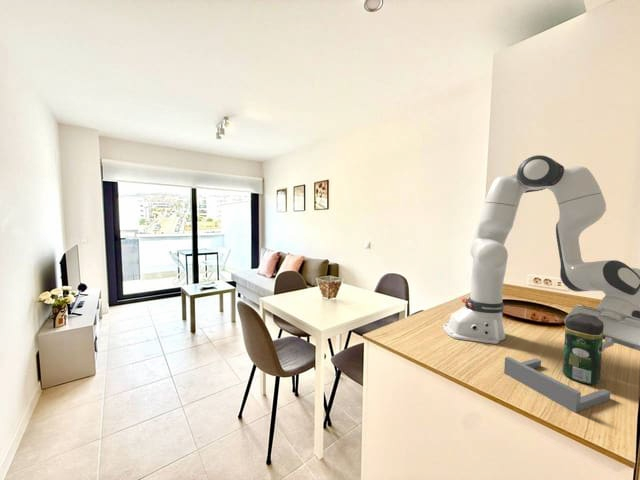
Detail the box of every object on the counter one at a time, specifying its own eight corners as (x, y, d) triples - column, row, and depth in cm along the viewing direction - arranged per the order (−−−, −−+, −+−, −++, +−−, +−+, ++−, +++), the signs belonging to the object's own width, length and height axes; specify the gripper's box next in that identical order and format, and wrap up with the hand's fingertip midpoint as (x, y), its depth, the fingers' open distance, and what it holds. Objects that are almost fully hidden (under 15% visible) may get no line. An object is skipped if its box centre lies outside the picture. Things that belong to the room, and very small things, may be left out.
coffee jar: (567, 365, 87) (570, 309, 85) (602, 376, 80) (607, 316, 79) (558, 376, 81) (562, 316, 79) (595, 389, 75) (600, 324, 73)
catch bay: (535, 364, 87) (536, 349, 87) (610, 399, 70) (611, 381, 70) (504, 373, 83) (504, 357, 82) (575, 412, 66) (577, 393, 65)
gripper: (572, 298, 93) (552, 329, 91) (662, 319, 74) (639, 359, 72) (579, 309, 95) (559, 340, 93) (669, 332, 76) (647, 372, 74)
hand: (595, 348), depth 82 cm, fingers closed
